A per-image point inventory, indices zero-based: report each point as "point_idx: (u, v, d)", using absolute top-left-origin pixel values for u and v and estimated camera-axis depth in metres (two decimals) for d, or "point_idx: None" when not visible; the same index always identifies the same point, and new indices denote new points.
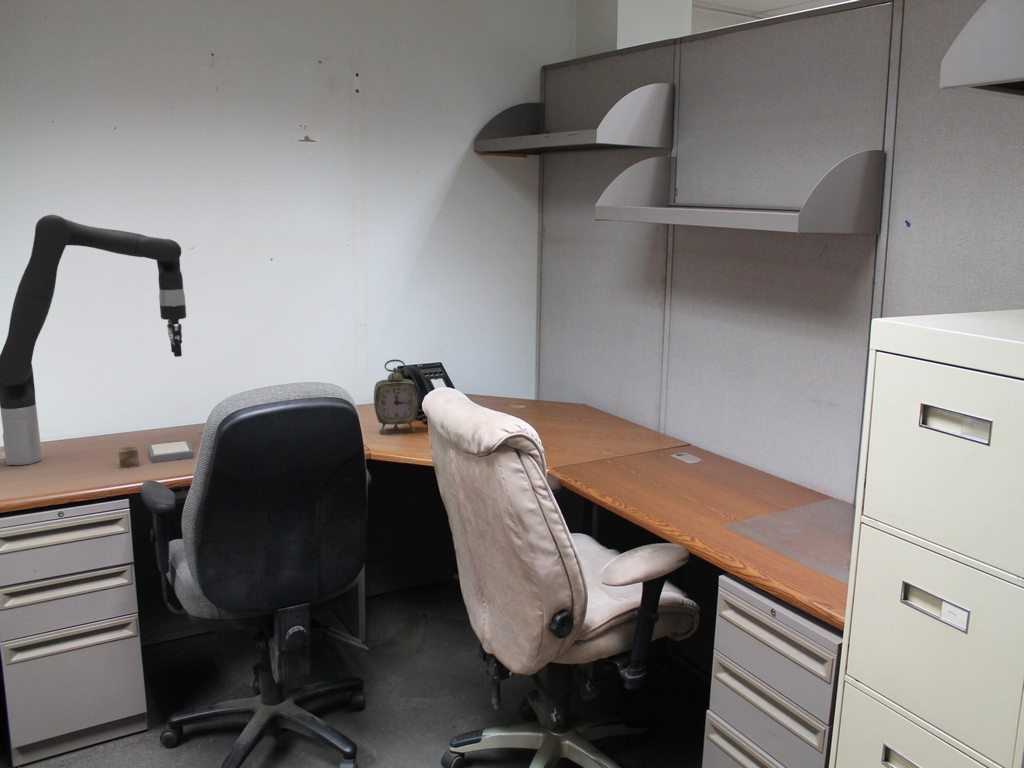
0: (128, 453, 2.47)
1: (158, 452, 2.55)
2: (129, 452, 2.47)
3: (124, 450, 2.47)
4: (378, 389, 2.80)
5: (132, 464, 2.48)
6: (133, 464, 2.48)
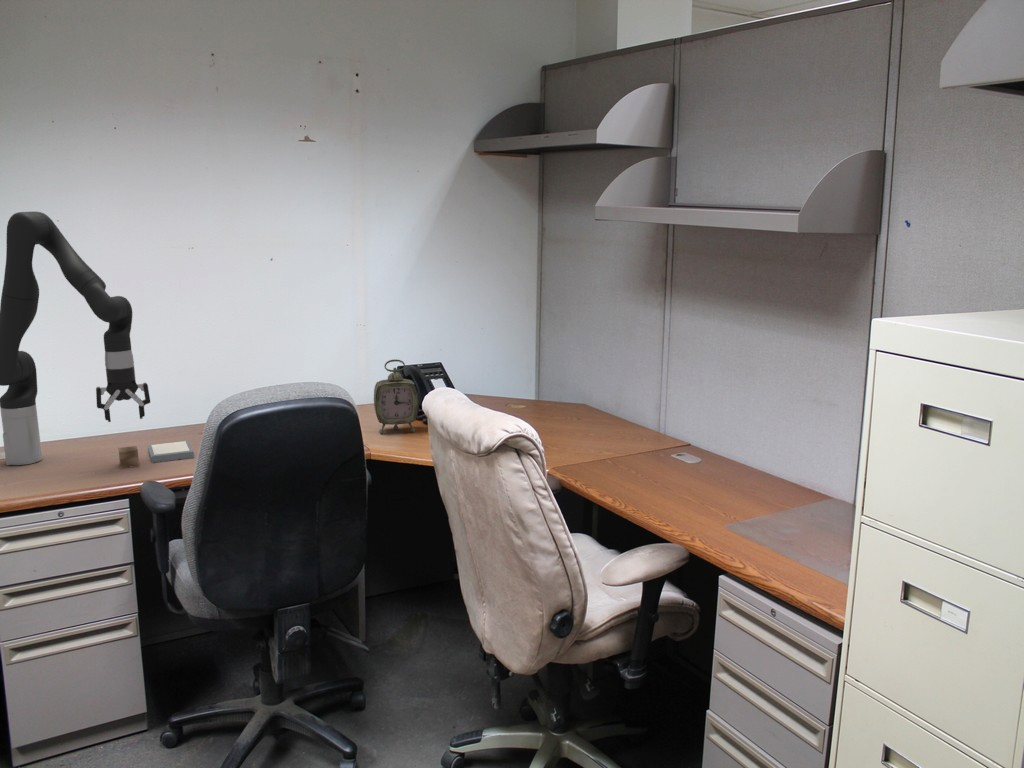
0: (128, 453, 2.47)
1: (158, 452, 2.55)
2: (129, 452, 2.47)
3: (124, 450, 2.47)
4: (378, 389, 2.80)
5: (132, 464, 2.48)
6: (133, 464, 2.48)
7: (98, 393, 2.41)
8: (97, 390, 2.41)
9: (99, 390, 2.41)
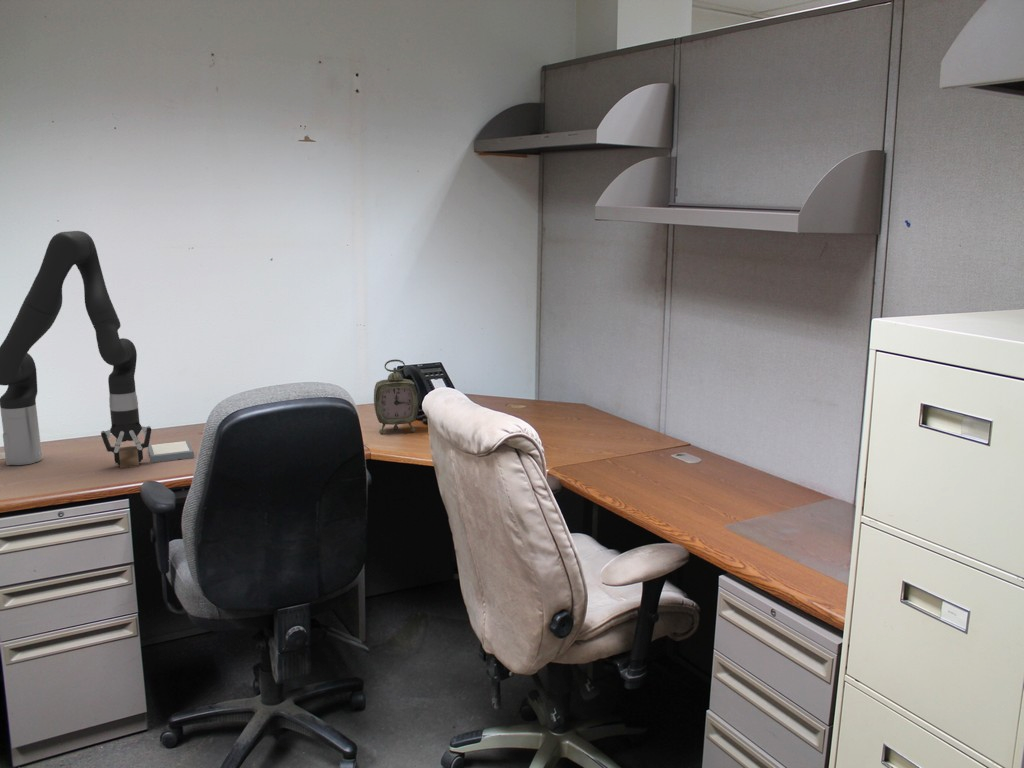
0: (127, 453, 2.47)
1: (158, 452, 2.55)
2: (129, 452, 2.47)
3: (124, 450, 2.47)
4: (378, 389, 2.80)
5: (132, 464, 2.48)
6: (133, 464, 2.48)
7: (104, 437, 2.44)
8: (102, 435, 2.44)
9: (104, 434, 2.44)
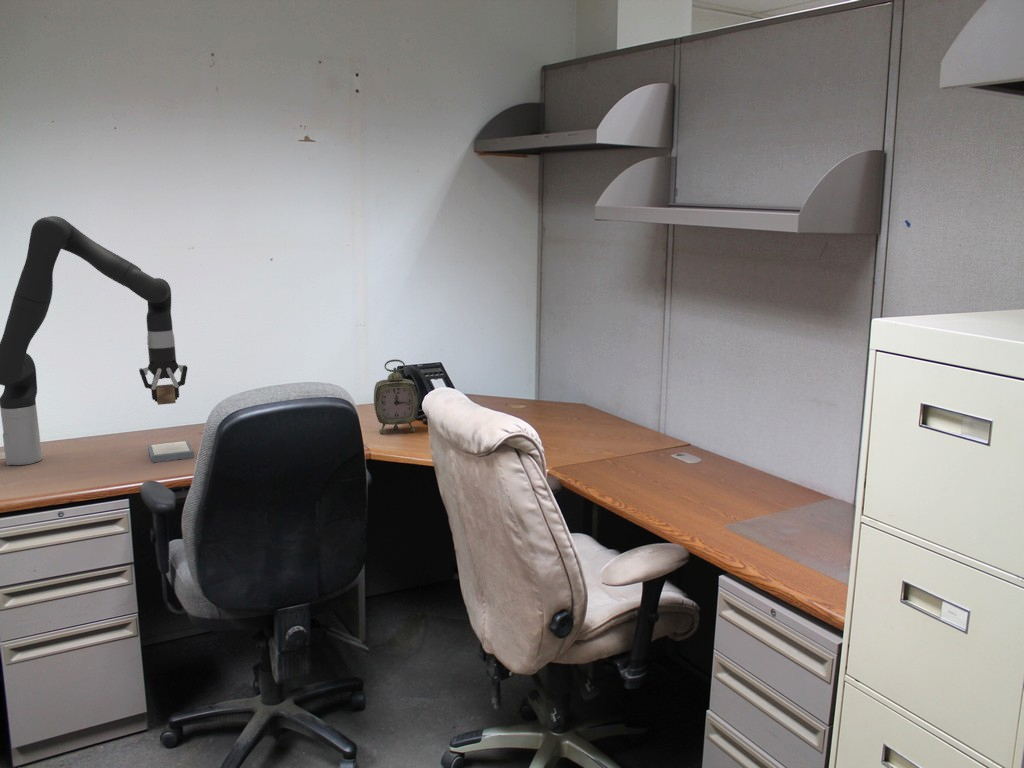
0: (165, 389, 2.54)
1: (158, 452, 2.55)
2: (166, 389, 2.54)
3: (161, 387, 2.54)
4: (378, 389, 2.80)
5: (169, 401, 2.55)
6: (170, 401, 2.55)
7: (142, 374, 2.51)
8: (140, 372, 2.51)
9: (142, 371, 2.51)
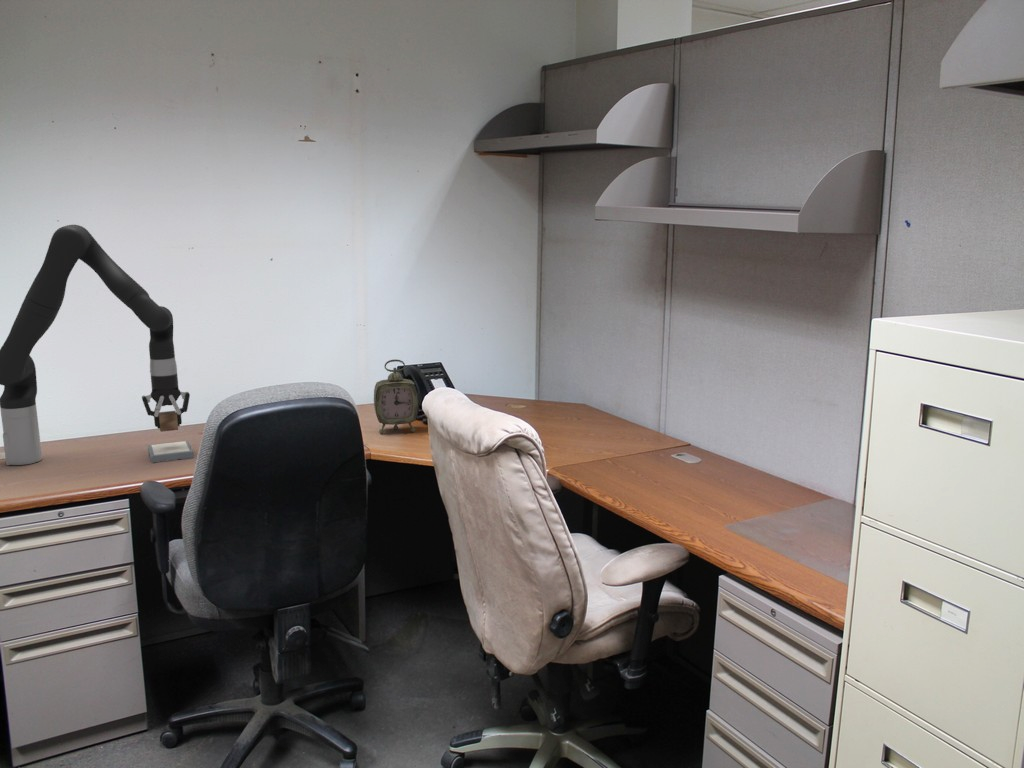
0: (167, 417, 2.55)
1: (158, 452, 2.55)
2: (169, 416, 2.56)
3: (164, 414, 2.56)
4: (378, 389, 2.80)
5: (171, 427, 2.57)
6: (172, 427, 2.57)
7: (145, 402, 2.53)
8: (143, 399, 2.53)
9: (145, 399, 2.53)
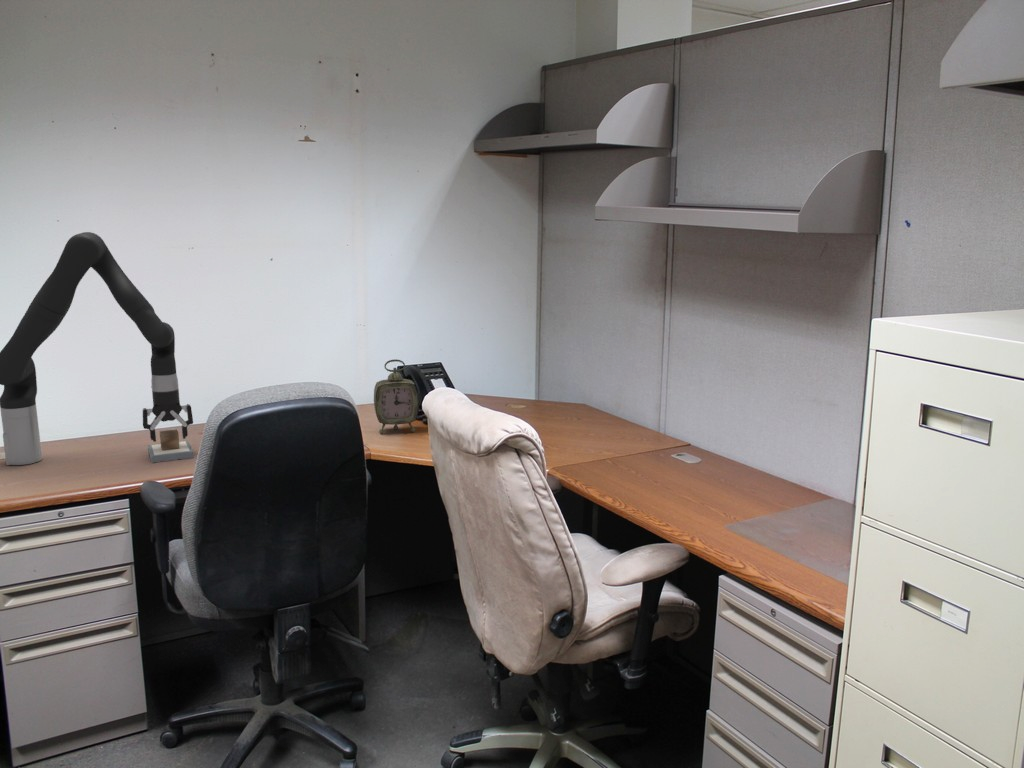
0: (169, 436, 2.57)
1: (158, 452, 2.55)
2: (170, 435, 2.57)
3: (165, 433, 2.57)
4: (378, 389, 2.80)
5: (173, 446, 2.58)
6: (174, 446, 2.58)
7: (145, 414, 2.54)
8: (144, 411, 2.53)
9: (146, 411, 2.54)
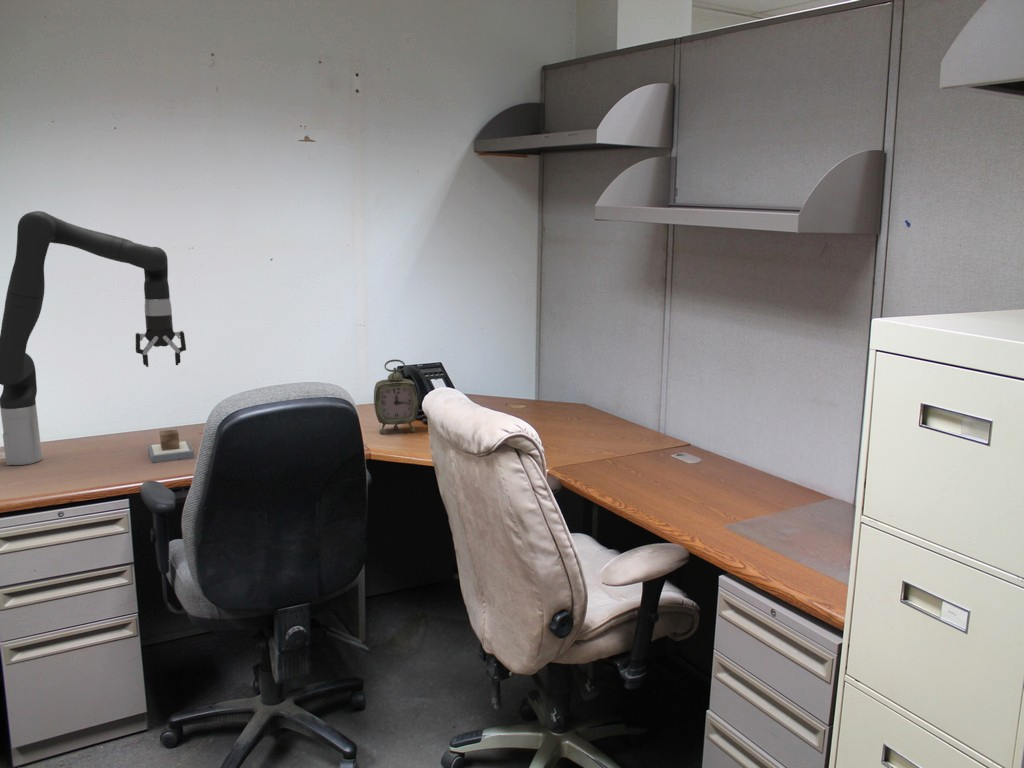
0: (169, 436, 2.57)
1: (158, 452, 2.55)
2: (170, 435, 2.57)
3: (165, 433, 2.57)
4: (378, 389, 2.80)
5: (173, 446, 2.58)
6: (174, 446, 2.58)
7: (137, 338, 2.54)
8: (137, 336, 2.53)
9: (138, 336, 2.53)
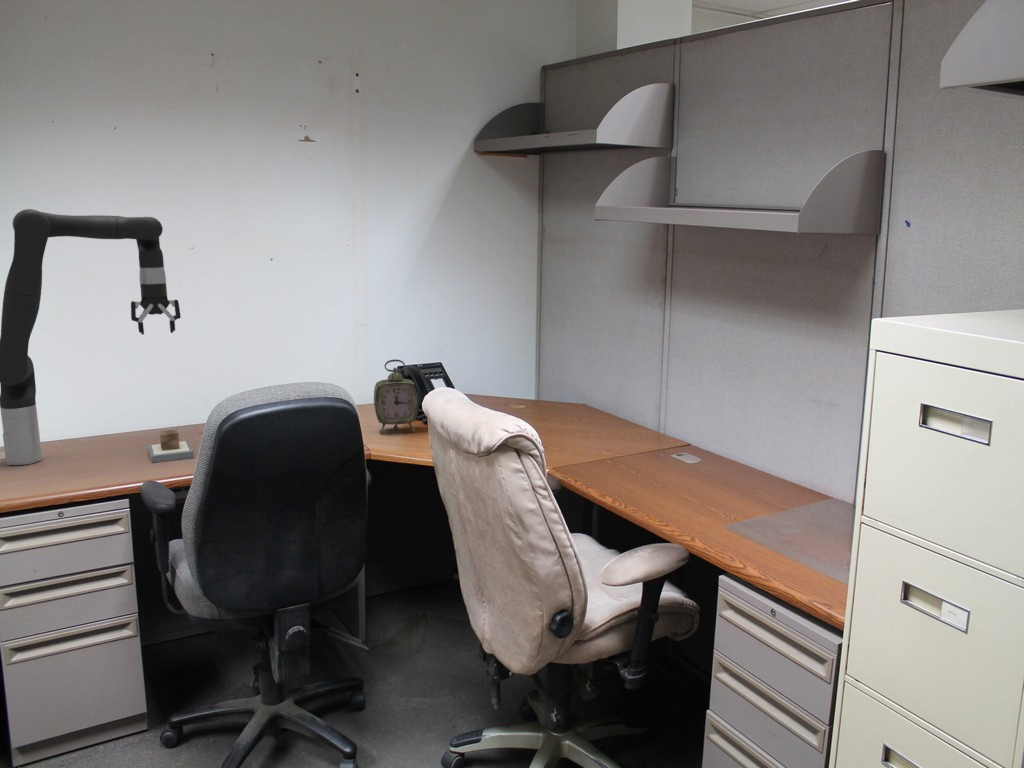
0: (169, 436, 2.57)
1: (158, 452, 2.55)
2: (170, 435, 2.57)
3: (165, 433, 2.57)
4: (378, 389, 2.80)
5: (173, 446, 2.58)
6: (174, 446, 2.58)
7: (133, 306, 2.60)
8: (132, 303, 2.59)
9: (134, 304, 2.60)
